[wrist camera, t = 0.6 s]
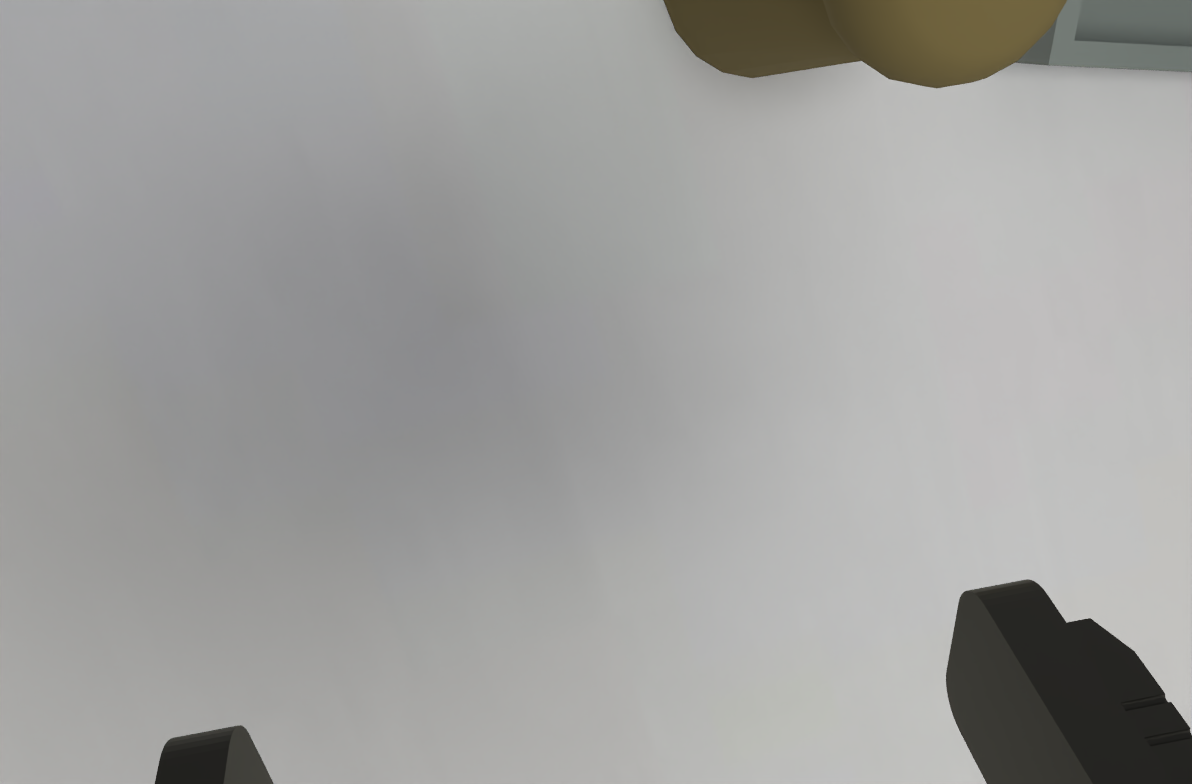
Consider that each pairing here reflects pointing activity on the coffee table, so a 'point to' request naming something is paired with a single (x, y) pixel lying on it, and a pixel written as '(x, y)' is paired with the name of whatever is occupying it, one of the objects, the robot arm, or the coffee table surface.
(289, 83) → the coffee table surface
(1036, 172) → the coffee table surface
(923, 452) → the coffee table surface
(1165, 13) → the slate dish
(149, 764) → the coffee table surface
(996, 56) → the cork
